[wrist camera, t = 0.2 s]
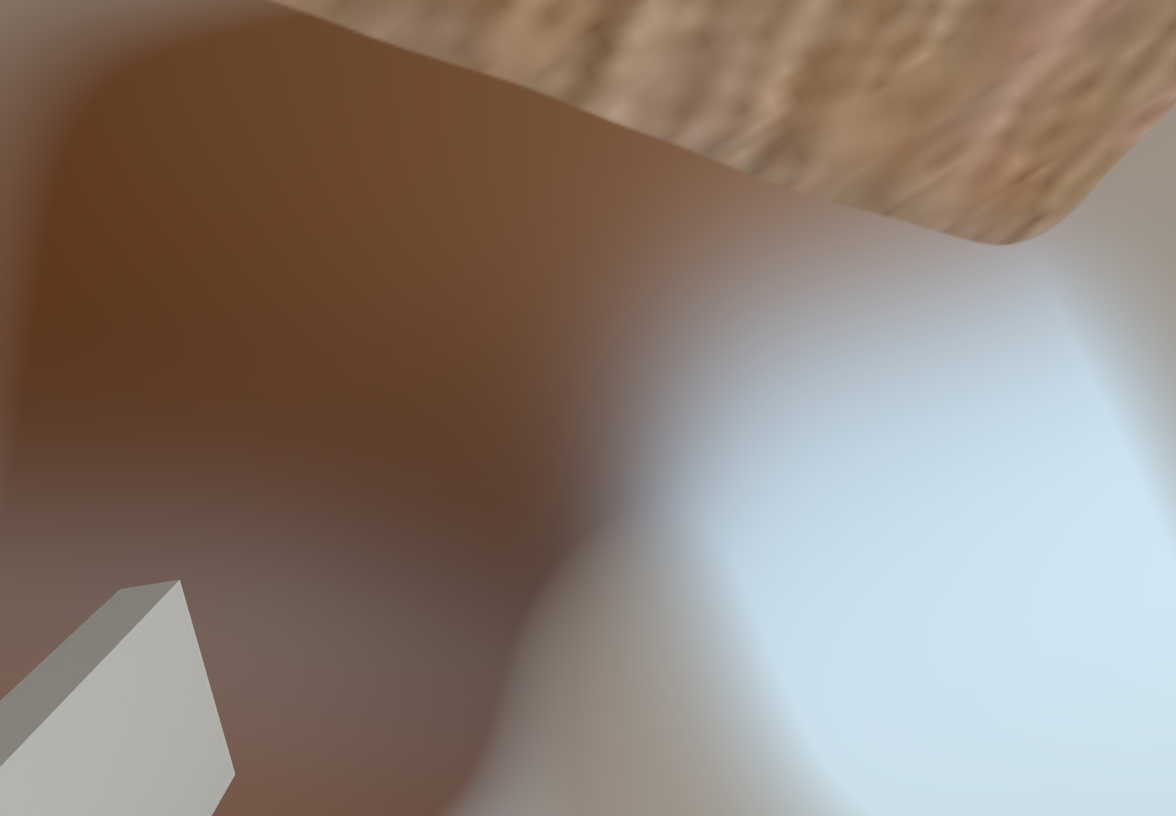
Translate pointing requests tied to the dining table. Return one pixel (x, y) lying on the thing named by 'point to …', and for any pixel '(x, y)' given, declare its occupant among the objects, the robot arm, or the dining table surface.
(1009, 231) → the dining table surface
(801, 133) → the dining table surface
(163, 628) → the robot arm
